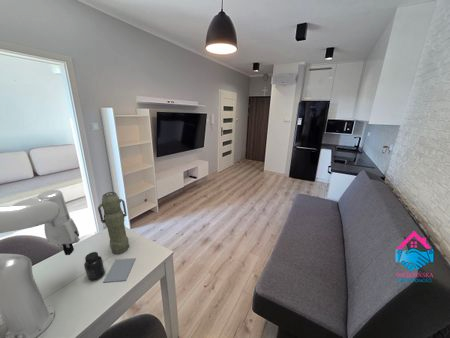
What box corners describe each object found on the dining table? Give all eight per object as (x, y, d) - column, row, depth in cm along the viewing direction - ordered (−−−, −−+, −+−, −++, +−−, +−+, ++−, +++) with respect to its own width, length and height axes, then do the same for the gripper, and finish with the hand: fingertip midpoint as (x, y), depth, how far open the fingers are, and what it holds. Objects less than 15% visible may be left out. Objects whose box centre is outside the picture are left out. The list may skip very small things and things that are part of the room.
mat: (126, 280, 85) (125, 280, 85) (103, 282, 84) (102, 282, 83) (135, 258, 97) (135, 258, 97) (115, 260, 96) (115, 259, 96)
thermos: (106, 249, 102) (93, 194, 91) (129, 240, 110) (119, 187, 99) (110, 259, 96) (97, 201, 85) (134, 247, 104) (124, 193, 93)
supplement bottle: (108, 272, 89) (103, 253, 85) (93, 284, 83) (87, 263, 79) (99, 267, 91) (94, 248, 88) (84, 278, 86) (78, 258, 82)
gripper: (29, 225, 71) (45, 260, 78) (71, 223, 73) (82, 258, 79) (45, 214, 78) (57, 247, 85) (82, 212, 80) (92, 245, 86)
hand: (69, 252), depth 82 cm, fingers closed
